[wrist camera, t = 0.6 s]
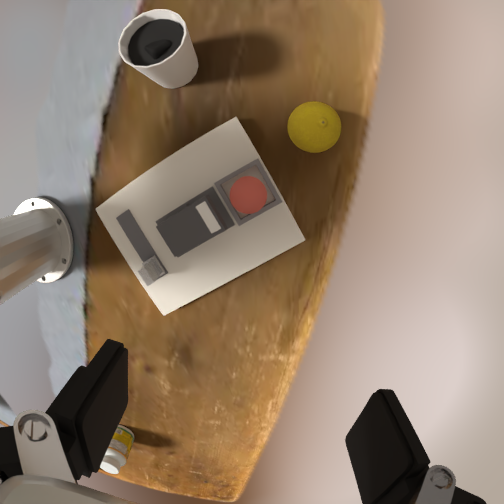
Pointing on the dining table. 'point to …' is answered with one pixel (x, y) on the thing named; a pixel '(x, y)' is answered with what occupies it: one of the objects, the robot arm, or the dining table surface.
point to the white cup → (160, 48)
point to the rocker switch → (192, 226)
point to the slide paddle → (151, 270)
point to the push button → (248, 195)
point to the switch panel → (186, 193)
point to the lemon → (314, 127)
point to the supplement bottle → (118, 450)
